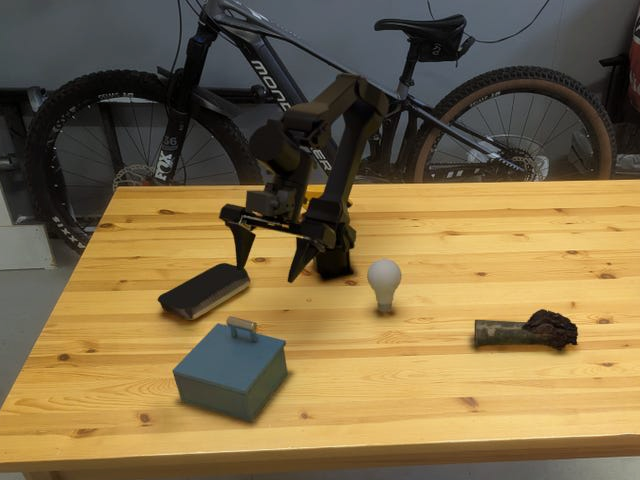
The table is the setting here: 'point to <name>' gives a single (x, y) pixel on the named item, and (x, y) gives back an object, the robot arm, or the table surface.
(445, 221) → the table surface
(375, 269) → the lightbulb
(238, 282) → the black sponge
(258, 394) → the compartment
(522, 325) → the mossy log
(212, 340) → the blue-grey box lid
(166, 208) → the table surface
